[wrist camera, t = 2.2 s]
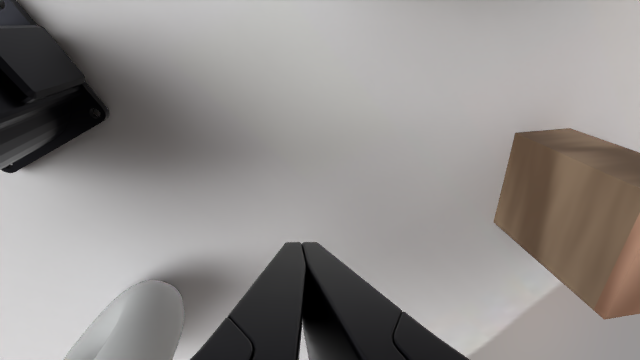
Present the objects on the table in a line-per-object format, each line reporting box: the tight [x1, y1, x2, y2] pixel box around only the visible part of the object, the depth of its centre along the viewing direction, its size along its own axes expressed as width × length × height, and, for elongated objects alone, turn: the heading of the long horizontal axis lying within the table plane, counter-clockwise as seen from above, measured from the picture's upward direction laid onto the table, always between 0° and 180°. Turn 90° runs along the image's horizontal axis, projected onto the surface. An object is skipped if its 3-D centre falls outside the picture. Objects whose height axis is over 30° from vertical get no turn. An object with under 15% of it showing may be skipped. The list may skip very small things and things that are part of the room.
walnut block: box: [494, 128, 640, 319], centre depth 19 cm, size 4×7×9 cm, turn 2°
